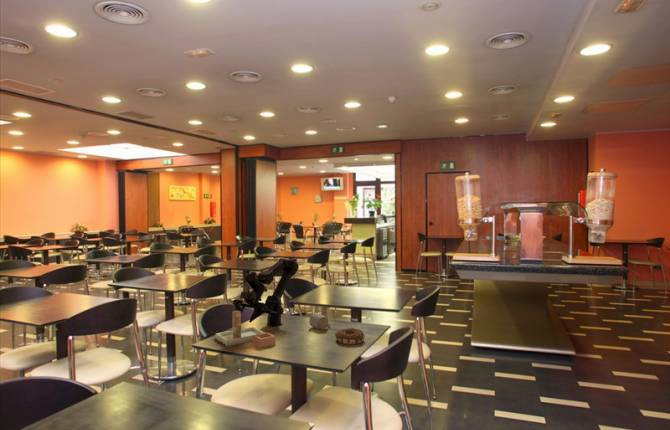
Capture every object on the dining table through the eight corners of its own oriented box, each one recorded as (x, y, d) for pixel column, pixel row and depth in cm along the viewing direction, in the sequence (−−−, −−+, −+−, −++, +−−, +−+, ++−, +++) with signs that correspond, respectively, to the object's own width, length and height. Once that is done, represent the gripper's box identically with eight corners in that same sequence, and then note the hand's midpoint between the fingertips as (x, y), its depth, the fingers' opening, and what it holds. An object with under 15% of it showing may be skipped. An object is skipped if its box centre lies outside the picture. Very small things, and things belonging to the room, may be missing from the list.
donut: (367, 338, 205) (367, 328, 205) (359, 347, 192) (359, 336, 192) (339, 335, 210) (339, 325, 210) (330, 343, 197) (330, 333, 197)
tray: (253, 331, 216) (253, 326, 215) (266, 338, 204) (266, 333, 204) (215, 338, 204) (215, 333, 203) (227, 346, 192) (227, 340, 192)
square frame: (267, 340, 201) (267, 332, 201) (275, 344, 195) (275, 336, 195) (253, 343, 196) (253, 335, 196) (260, 348, 190) (260, 339, 190)
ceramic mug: (318, 331, 216) (318, 316, 216) (308, 328, 222) (309, 313, 222) (334, 328, 223) (334, 313, 223) (324, 324, 229) (324, 310, 229)
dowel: (241, 336, 204) (241, 310, 204) (241, 338, 200) (240, 312, 200) (233, 336, 203) (232, 311, 203) (232, 339, 199) (232, 313, 199)
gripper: (234, 283, 214) (219, 309, 204) (264, 286, 205) (249, 314, 195) (245, 295, 221) (230, 321, 211) (273, 299, 212) (260, 326, 203)
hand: (242, 320), depth 205 cm, fingers open, 9 cm apart
